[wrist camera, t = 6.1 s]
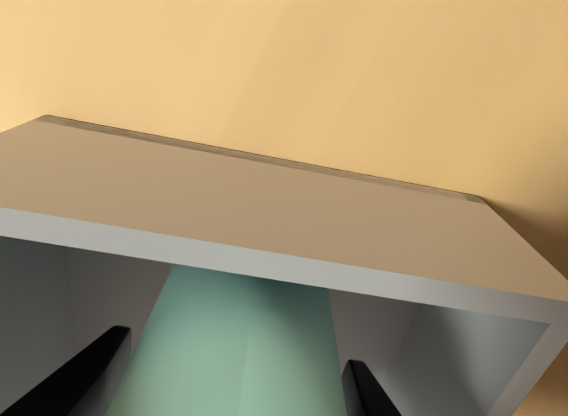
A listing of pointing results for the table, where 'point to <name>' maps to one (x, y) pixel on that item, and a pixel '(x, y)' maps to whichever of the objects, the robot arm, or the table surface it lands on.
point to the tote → (268, 261)
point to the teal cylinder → (233, 350)
